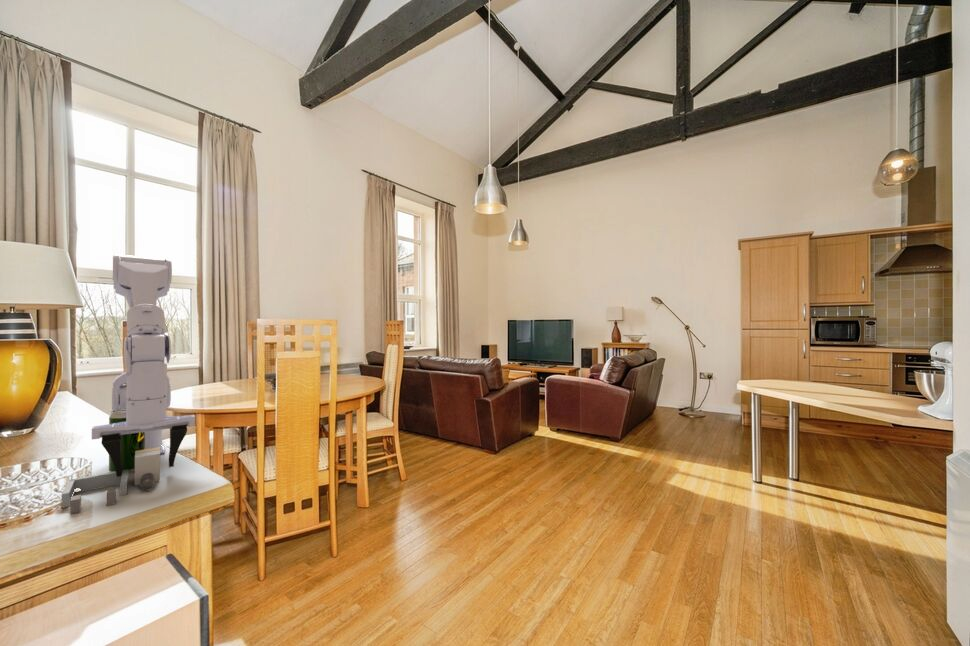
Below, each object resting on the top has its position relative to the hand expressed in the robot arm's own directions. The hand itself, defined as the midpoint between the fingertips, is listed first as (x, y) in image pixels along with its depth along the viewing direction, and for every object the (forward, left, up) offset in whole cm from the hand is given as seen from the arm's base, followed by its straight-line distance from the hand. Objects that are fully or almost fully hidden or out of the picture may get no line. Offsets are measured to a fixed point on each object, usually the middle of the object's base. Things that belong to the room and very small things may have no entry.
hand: (146, 470), depth 73 cm
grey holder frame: (+4, -6, -2) cm, 8 cm away
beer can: (-8, -3, -2) cm, 9 cm away
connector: (+2, 0, -2) cm, 3 cm away
